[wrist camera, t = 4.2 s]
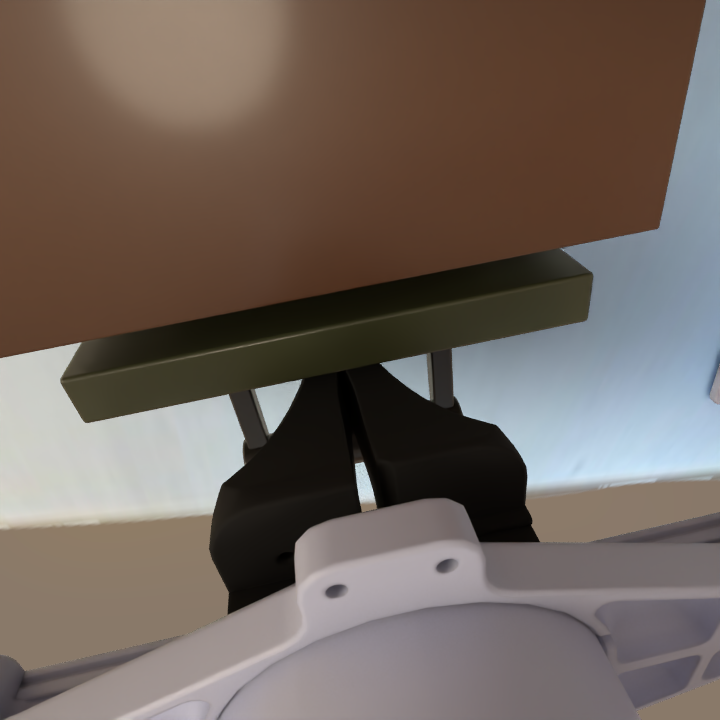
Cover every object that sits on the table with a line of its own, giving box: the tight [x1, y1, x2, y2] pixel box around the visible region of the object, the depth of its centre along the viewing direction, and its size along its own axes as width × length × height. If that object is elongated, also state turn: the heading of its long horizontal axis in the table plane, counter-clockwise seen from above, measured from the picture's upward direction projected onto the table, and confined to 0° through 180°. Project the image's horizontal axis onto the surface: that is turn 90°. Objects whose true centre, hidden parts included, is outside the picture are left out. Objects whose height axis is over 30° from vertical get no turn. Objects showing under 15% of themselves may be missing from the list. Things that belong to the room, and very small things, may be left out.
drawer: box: [60, 248, 593, 465], centre depth 11 cm, size 18×11×7 cm, turn 8°
